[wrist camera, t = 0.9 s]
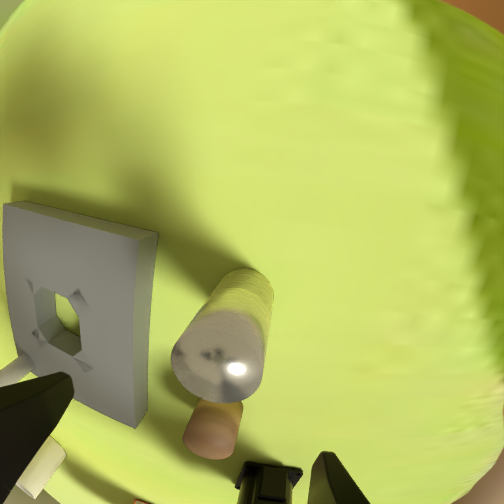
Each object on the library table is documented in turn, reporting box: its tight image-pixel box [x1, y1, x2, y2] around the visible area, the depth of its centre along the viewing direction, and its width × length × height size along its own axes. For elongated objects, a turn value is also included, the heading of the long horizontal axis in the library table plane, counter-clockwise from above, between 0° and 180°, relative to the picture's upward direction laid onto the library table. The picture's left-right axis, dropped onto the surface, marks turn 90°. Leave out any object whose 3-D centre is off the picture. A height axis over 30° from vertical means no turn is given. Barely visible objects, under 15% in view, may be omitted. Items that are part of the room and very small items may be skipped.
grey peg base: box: [0, 201, 159, 429], centre depth 18 cm, size 18×16×9 cm
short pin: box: [182, 398, 243, 460], centre depth 20 cm, size 4×4×5 cm
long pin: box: [171, 268, 274, 403], centre depth 16 cm, size 4×4×9 cm
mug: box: [16, 436, 66, 499], centre depth 24 cm, size 10×7×12 cm, turn 5°
